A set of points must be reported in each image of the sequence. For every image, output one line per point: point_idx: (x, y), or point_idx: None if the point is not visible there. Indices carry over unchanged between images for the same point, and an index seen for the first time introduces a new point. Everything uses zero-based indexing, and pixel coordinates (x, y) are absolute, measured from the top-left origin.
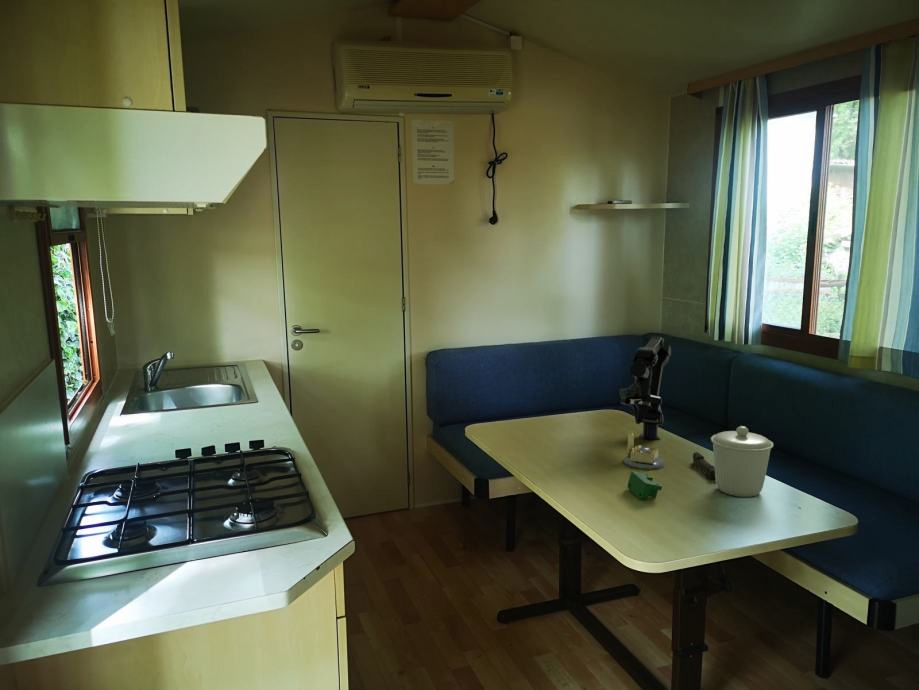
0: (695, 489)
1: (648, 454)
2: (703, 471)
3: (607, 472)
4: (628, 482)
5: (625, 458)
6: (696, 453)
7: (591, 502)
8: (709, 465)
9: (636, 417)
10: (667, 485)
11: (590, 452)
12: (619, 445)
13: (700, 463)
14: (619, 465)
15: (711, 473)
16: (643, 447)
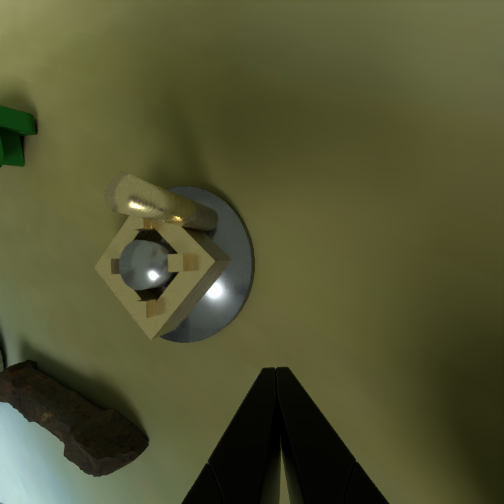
0: (8, 281)
1: (109, 254)
2: (62, 386)
3: (141, 99)
4: (20, 111)
5: (214, 201)
6: (90, 461)
7: (9, 16)
8: (26, 408)
9: (280, 418)
10: (36, 229)
11: (378, 87)
12: (471, 292)
13: (60, 406)
14: (186, 163)
15: (7, 369)
16: (146, 264)
